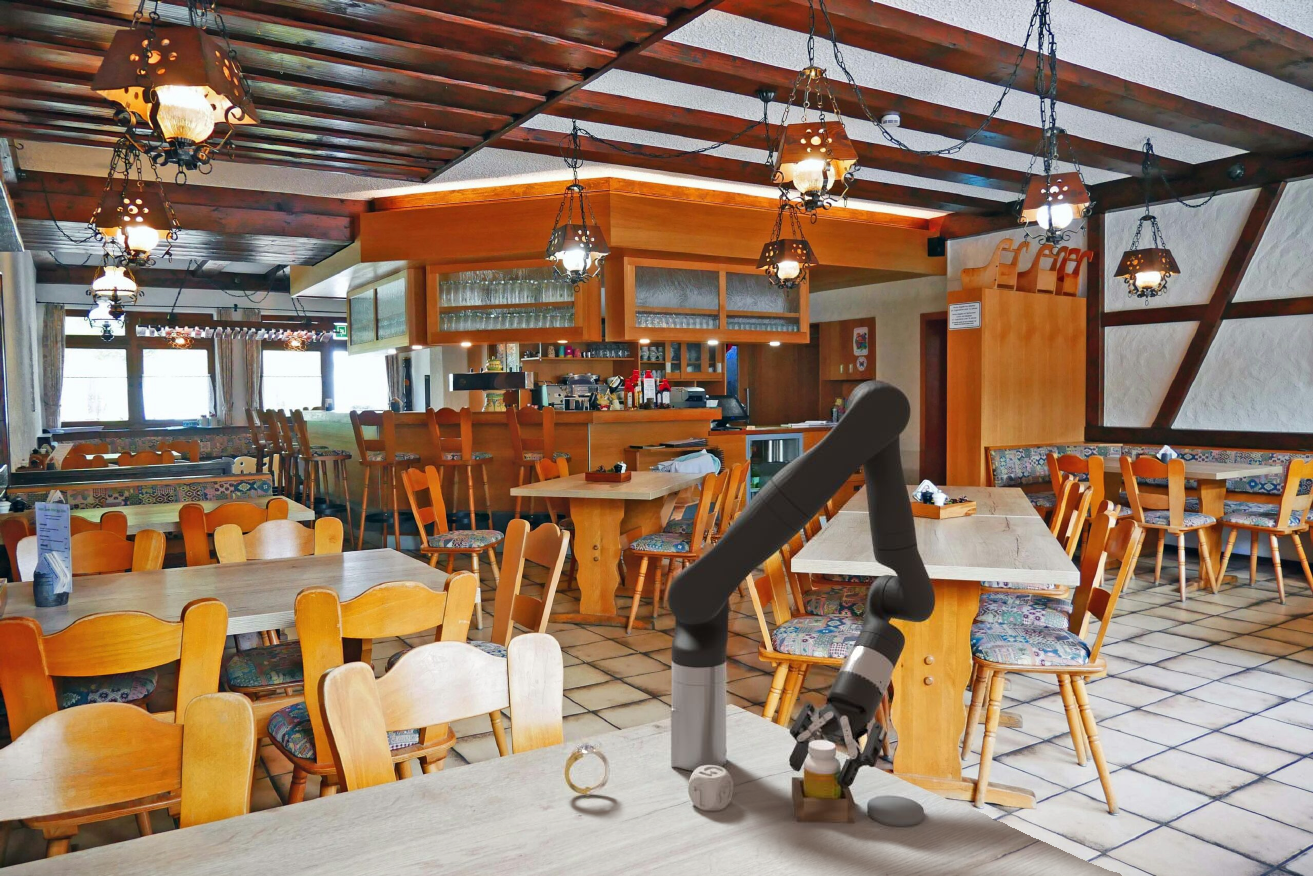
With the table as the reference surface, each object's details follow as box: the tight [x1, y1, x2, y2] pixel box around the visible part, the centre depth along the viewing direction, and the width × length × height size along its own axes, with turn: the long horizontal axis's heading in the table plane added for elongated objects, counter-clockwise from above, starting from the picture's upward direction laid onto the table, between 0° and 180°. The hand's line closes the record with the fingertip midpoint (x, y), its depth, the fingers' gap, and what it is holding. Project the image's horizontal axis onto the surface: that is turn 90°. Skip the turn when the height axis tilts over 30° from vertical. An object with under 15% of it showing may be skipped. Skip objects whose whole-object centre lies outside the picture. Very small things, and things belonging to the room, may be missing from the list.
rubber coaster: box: [866, 794, 925, 828], centre depth 129 cm, size 8×8×1 cm
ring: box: [564, 741, 611, 797], centre depth 136 cm, size 7×3×8 cm, turn 93°
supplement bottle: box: [803, 740, 842, 799], centre depth 131 cm, size 5×5×10 cm
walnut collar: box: [791, 776, 856, 824], centre depth 131 cm, size 8×8×3 cm
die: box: [687, 765, 734, 812], centre depth 133 cm, size 5×5×5 cm
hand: (817, 777), depth 130 cm, fingers open, 8 cm apart
